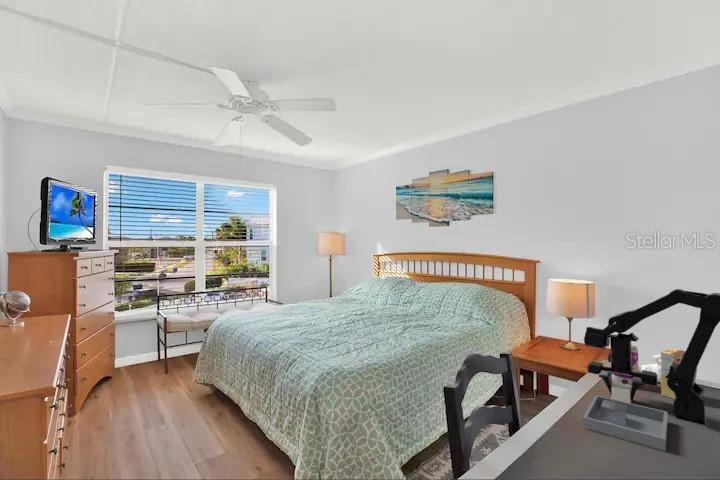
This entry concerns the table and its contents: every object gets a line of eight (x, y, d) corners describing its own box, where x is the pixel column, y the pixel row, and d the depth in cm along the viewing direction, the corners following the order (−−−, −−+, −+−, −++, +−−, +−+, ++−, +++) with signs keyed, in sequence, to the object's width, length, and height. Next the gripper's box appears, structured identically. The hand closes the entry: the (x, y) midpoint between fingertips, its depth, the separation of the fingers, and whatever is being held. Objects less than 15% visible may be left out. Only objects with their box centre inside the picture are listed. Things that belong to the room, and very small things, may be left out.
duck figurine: (681, 392, 133) (685, 364, 137) (676, 383, 129) (681, 355, 134) (641, 382, 143) (647, 356, 147) (636, 374, 139) (641, 348, 143)
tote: (667, 423, 105) (667, 411, 105) (665, 453, 90) (665, 439, 90) (595, 405, 117) (595, 395, 117) (583, 429, 102) (582, 417, 103)
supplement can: (643, 388, 131) (642, 347, 132) (618, 386, 133) (617, 346, 133) (631, 380, 139) (630, 341, 140) (608, 378, 141) (607, 340, 141)
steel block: (627, 418, 108) (627, 405, 108) (625, 426, 103) (625, 412, 103) (604, 412, 112) (603, 399, 112) (600, 419, 107) (600, 406, 107)
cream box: (632, 400, 121) (631, 385, 121) (630, 406, 117) (629, 390, 117) (614, 396, 125) (613, 381, 125) (611, 402, 120) (611, 387, 120)
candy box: (672, 390, 129) (671, 347, 130) (687, 394, 126) (685, 350, 126) (660, 395, 125) (659, 351, 125) (676, 399, 121) (674, 354, 122)
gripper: (657, 351, 121) (658, 398, 120) (592, 342, 133) (593, 384, 133) (656, 359, 112) (657, 409, 112) (586, 348, 125) (587, 393, 125)
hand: (621, 398), depth 121 cm, fingers closed on cream box, 5 cm apart
